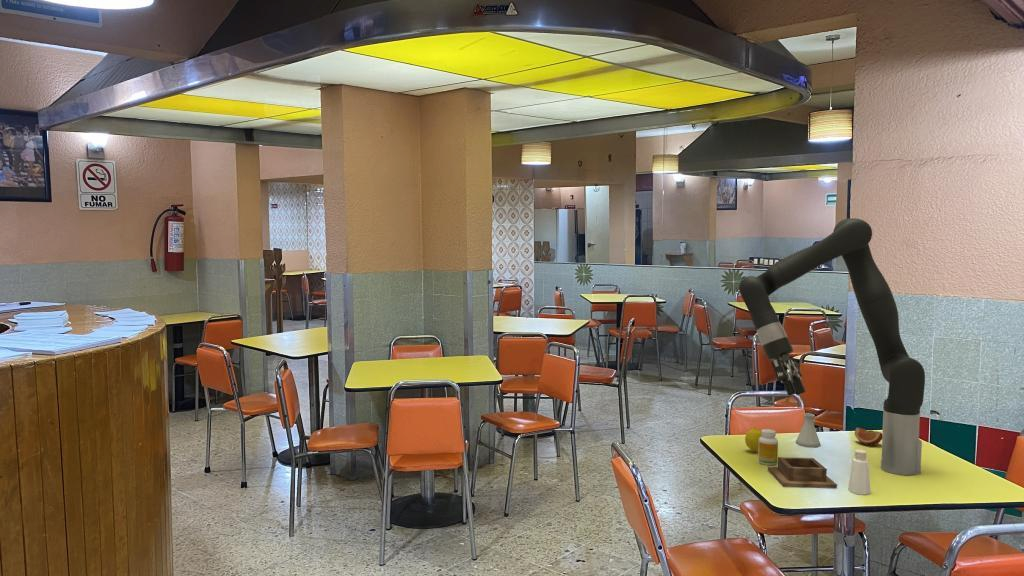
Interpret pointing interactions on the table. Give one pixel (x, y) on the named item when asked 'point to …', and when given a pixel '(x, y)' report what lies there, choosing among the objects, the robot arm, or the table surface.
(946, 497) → the table surface
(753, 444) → the fruit
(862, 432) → the fruit slice
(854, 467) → the pepper shaker
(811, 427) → the flask
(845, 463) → the table surface
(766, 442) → the supplement bottle
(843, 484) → the table surface
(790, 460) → the socket cup
